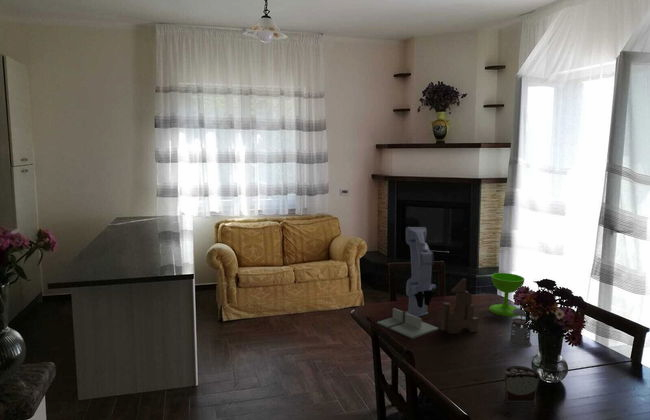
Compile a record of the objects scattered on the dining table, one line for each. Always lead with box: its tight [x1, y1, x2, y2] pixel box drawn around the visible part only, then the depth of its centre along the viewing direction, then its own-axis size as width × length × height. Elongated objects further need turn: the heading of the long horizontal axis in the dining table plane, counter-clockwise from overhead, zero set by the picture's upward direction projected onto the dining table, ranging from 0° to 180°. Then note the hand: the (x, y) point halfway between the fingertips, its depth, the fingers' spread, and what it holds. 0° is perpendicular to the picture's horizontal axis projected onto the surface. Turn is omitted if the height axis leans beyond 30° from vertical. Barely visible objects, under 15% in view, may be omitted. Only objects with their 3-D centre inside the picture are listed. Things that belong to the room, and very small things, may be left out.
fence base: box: [391, 307, 406, 323], centre depth 229 cm, size 1×8×5 cm, turn 38°
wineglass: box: [488, 272, 525, 317], centre depth 247 cm, size 16×16×18 cm
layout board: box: [376, 317, 439, 340], centre depth 224 cm, size 18×22×1 cm
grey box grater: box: [507, 307, 533, 349], centre depth 207 cm, size 10×12×25 cm
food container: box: [502, 365, 542, 403], centre depth 163 cm, size 12×6×10 cm, turn 92°
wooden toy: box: [440, 277, 479, 335], centre depth 219 cm, size 16×7×25 cm, turn 104°
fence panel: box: [405, 313, 423, 329], centre depth 222 cm, size 9×1×4 cm, turn 38°
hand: (423, 306), depth 223 cm, fingers open, 4 cm apart
